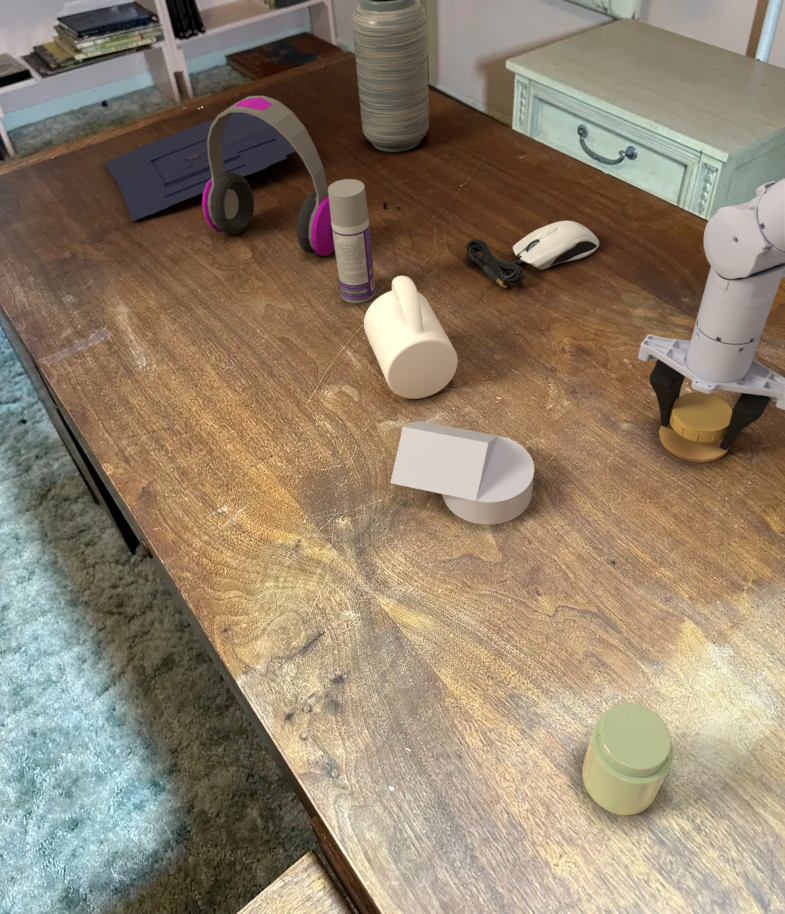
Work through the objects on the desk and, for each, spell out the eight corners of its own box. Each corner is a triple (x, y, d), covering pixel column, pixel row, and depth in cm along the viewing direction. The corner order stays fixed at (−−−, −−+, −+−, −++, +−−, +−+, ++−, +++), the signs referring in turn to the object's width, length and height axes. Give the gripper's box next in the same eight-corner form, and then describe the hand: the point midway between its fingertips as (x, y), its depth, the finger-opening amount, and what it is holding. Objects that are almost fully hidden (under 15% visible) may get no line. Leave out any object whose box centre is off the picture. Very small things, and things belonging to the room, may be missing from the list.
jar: (655, 748, 58) (675, 703, 53) (658, 821, 54) (680, 782, 49) (583, 736, 59) (595, 691, 54) (581, 808, 55) (593, 768, 50)
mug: (389, 406, 86) (381, 320, 78) (366, 353, 93) (357, 267, 85) (458, 390, 88) (458, 302, 79) (430, 338, 95) (427, 252, 86)
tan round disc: (726, 418, 82) (727, 415, 81) (732, 466, 77) (733, 462, 77) (658, 412, 83) (658, 409, 83) (660, 458, 78) (661, 455, 78)
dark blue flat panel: (311, 168, 126) (305, 147, 123) (139, 237, 121) (130, 217, 118) (264, 116, 142) (258, 97, 139) (111, 176, 137) (101, 157, 134)
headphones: (354, 239, 112) (338, 99, 98) (323, 270, 107) (302, 127, 92) (238, 214, 119) (208, 80, 105) (204, 241, 114) (168, 105, 100)
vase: (350, 147, 133) (334, -1, 117) (390, 122, 140) (380, -22, 123) (403, 162, 128) (394, 9, 112) (442, 135, 134) (440, -13, 118)
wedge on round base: (392, 505, 76) (521, 533, 73) (387, 459, 72) (525, 486, 68) (419, 443, 82) (539, 466, 79) (416, 396, 77) (544, 419, 74)
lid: (682, 396, 81) (686, 384, 80) (737, 417, 79) (742, 405, 77) (660, 428, 78) (663, 416, 77) (716, 451, 76) (720, 439, 74)
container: (356, 279, 105) (344, 175, 94) (382, 290, 102) (373, 184, 92) (333, 296, 102) (318, 190, 91) (360, 307, 100) (347, 200, 89)
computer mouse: (614, 254, 105) (619, 228, 102) (502, 296, 100) (503, 270, 97) (570, 223, 111) (573, 198, 108) (462, 261, 106) (463, 235, 103)
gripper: (635, 323, 71) (613, 428, 80) (798, 377, 64) (753, 484, 74) (665, 285, 74) (641, 390, 84) (822, 333, 68) (777, 440, 78)
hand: (695, 431), depth 79 cm, fingers closed on lid, 6 cm apart
